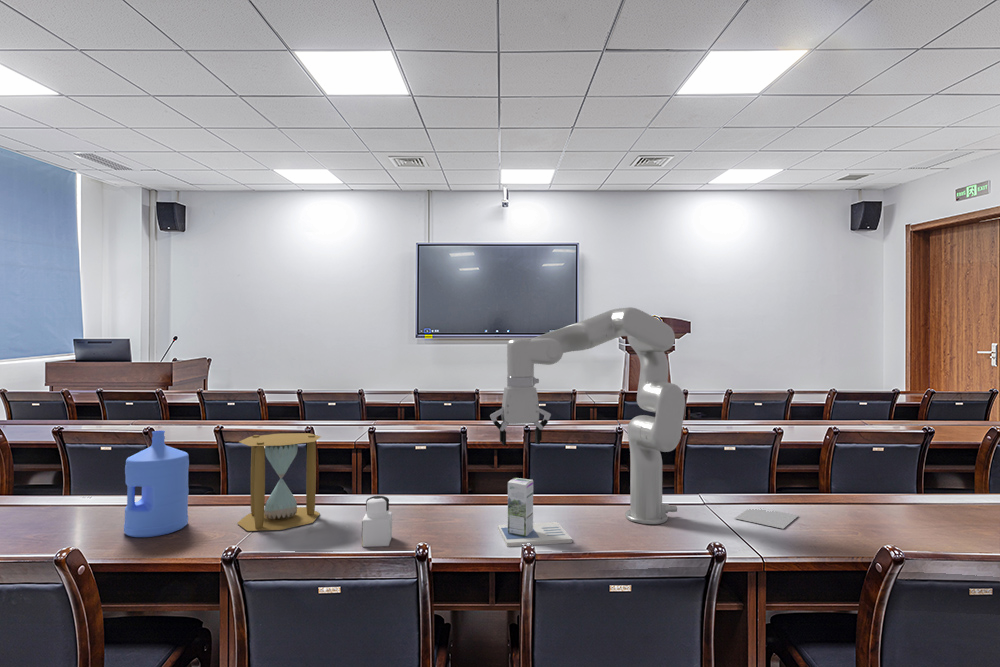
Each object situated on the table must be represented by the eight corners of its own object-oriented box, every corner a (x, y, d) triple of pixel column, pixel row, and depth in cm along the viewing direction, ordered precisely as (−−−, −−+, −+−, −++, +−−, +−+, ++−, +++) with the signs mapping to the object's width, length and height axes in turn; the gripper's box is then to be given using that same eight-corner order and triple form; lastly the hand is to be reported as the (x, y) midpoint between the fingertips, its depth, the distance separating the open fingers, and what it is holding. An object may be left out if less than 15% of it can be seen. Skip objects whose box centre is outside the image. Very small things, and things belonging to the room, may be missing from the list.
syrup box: (533, 530, 153) (534, 478, 153) (526, 537, 147) (526, 483, 147) (515, 527, 155) (515, 476, 155) (506, 534, 150) (507, 481, 150)
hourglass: (235, 537, 149) (236, 446, 150) (238, 513, 170) (239, 434, 170) (324, 525, 159) (325, 440, 160) (317, 505, 179) (317, 429, 180)
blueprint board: (557, 525, 160) (557, 521, 160) (572, 542, 146) (572, 538, 146) (497, 528, 157) (497, 525, 157) (506, 546, 143) (506, 542, 143)
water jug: (179, 516, 167) (181, 425, 167) (194, 529, 156) (196, 431, 156) (118, 528, 156) (120, 431, 156) (130, 542, 145) (132, 438, 145)
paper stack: (833, 524, 163) (833, 522, 163) (812, 547, 145) (812, 544, 145) (752, 508, 179) (752, 506, 179) (724, 527, 161) (724, 524, 161)
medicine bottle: (365, 537, 149) (366, 494, 150) (392, 537, 150) (392, 493, 150) (361, 547, 142) (361, 501, 142) (388, 546, 143) (389, 501, 143)
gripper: (546, 381, 157) (547, 440, 157) (488, 382, 154) (488, 442, 154) (553, 383, 150) (554, 445, 149) (492, 384, 147) (492, 447, 146)
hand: (520, 443), depth 152 cm, fingers open, 9 cm apart
